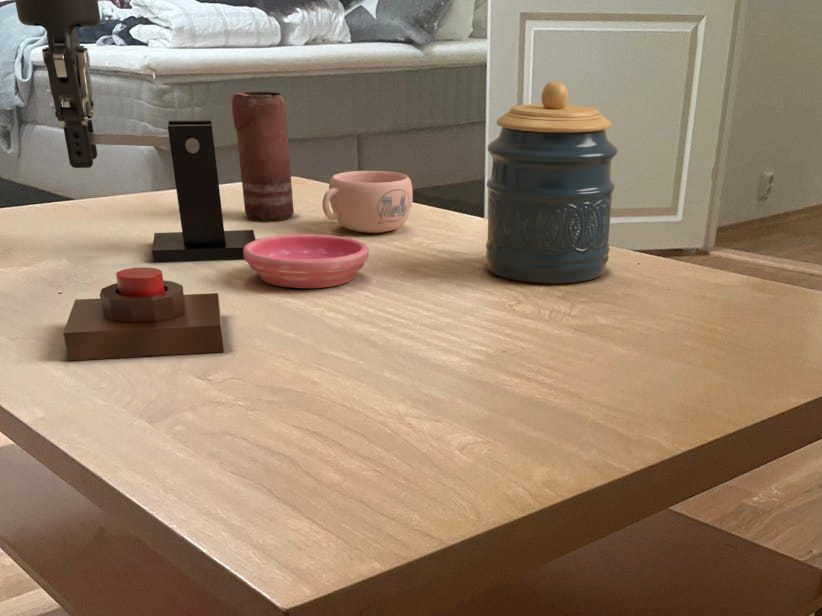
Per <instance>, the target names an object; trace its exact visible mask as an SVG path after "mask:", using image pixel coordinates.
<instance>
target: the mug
mask: <svg viewBox="0 0 822 616" xmlns="http://www.w3.org/2000/svg"><path fill="white" fill-rule="evenodd" d="M413 197H414V194H413V184H412V181H411V179H410V177H409V176H408V175H407V174H404V173H401V172H395V171H388V170H387V171H385V170H356V171H354V170H353V171H344V172H339V173H335V174H334V175H332V176H331V178H330V179H329V185H328V190H326V192H325V193H324V195H323V198H322V203H321V204H322V206H321V207H322V211H323V213H324V215H325V217H326V218H327V219H328V220H330V221H335V220H337V222H338V224H339V225H340V226H341V227H343V228H344V229H347V230H351V231H355V232H359V233H366V234H379V233H386V232H390V231H393V230H396V229H399V228H401V227H403V226H404V225H405V224H406V223H407V220H408V218H409V215H410V212H411V209H412V206H413V200H414V198H413ZM330 207H331V209H330ZM331 210H332V211H331Z"/></svg>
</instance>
